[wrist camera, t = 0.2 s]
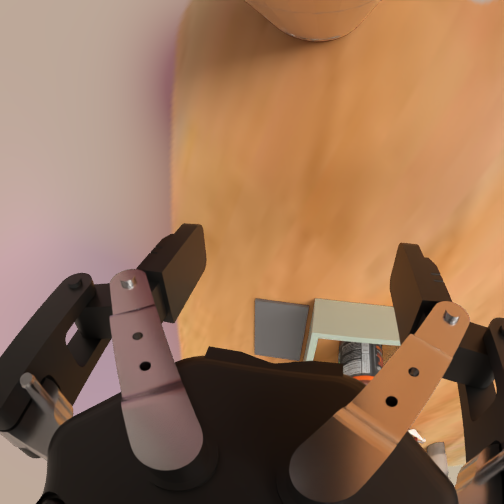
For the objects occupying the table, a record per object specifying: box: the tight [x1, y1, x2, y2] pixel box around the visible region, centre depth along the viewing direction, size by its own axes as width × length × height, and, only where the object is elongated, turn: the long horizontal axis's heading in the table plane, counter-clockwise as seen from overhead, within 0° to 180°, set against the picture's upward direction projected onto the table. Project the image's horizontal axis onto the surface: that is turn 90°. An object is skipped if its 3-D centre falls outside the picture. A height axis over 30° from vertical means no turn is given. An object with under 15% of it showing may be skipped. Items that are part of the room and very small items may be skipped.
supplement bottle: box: [338, 341, 383, 385], centre depth 35 cm, size 6×6×11 cm
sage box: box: [303, 298, 401, 361], centre depth 37 cm, size 15×15×6 cm
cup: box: [427, 442, 450, 480], centre depth 51 cm, size 7×7×12 cm
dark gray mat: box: [255, 298, 309, 361], centre depth 41 cm, size 11×7×1 cm, turn 0°
